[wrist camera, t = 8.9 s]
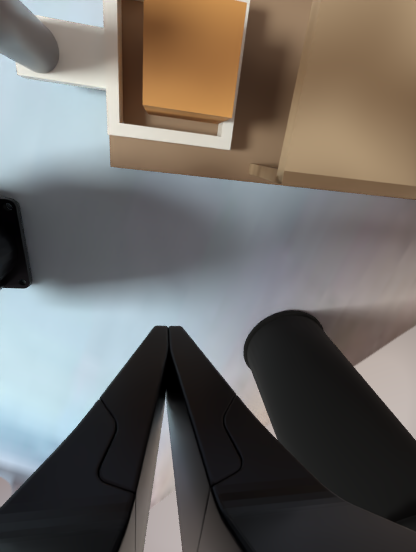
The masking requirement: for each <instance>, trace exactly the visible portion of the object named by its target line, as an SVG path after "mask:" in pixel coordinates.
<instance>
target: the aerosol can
mask: <svg viewBox="0 0 416 552" xmlns="http://www.w3.org/2000/svg"><path fill="white" fill-rule="evenodd" d="M244 359H245V362H246V364H247V366H248V367H249V368H250V369H251V371H252V373H253V376H254V379H255V381H256V384H257V387H258V389H259V392H260V394H261V397H262V400H263V402H264V405H265V408H266V410H267V413H268V416H269V418H270V421H271V424H272V426H273V429H274V432H275V434H276V437H277V439H278V441H279V442H280V443H281V444H282V445H283V446H284V447H285V448H286V449H287V450H288V451H289V452H290V453H291V454H292V455H293V456H294V457H295V458H296V459H297V460H298V461H299V462H300V463H301V464H302V465H303V466H304V467H305V468H306V469H307V470H308V471H309V472H310V473H311V474H312V475H313V476H314V477H315V478H316V479H317V480H318V481H319V482H320V483H321V484H323V485H324V486H325V487H326V488H328V489H329V490H330V491H331V492H333V493H334V494H336V495H337V496H338V497H340V498H342V499H343V500H345V501H347V502H349V503H351V504H353V505H355V506H357V507H360V508H362V509H364V510H367V511H369V512H371V513H374V514H376V515H378V516H380V517H383V518H385V519H387V520H390V521H392V522H394V523H397V524H399V525H401V526H404V527H406V528H408V529H410V530H413V531H415V532H416V440H415V439H414V438H413V437H412V435H411V434H410V433H409V432H408V431H407V429H406V428H405V427H404V426H403V425H402V424H401V422H400V421H399V420H398V419H397V418H396V416H395V415H394V414H393V413H392V412H391V411H390V409H389V408H388V407H387V406H386V405H385V403H384V402H383V401H382V400H381V399H380V398H379V397H378V395H377V394H376V393H375V392H374V390H373V389H372V388H371V387H370V386H369V385H368V383H367V382H366V381H365V380H364V379H363V377H362V376H361V375H360V374H359V373H358V372H357V370H356V369H355V368H354V367H353V366H352V364H351V363H350V362H349V361H348V360H347V358H346V357H345V356H344V355H343V354H342V353H341V351H340V350H339V349H338V348H337V347H336V345H335V344H334V343H333V342H332V341H331V340H330V338H329V337H328V336H327V335H326V334H325V332H324V331H323V327H322V325H321V324H320V322H319V321H318V320H317V319H316V318H315V317H313V316H311V315H309V314H307V313H304V312H301V311H285V312H280V313H277V314H274V315H272V316H270V317H267V318H266V319H264V320H263V321H261V322H260V323H259V324H258V325H257V326H255V327H254V328H253V330H252V331H251V332H250V334H249V335H248V337H247V339H246V341H245V345H244Z"/></svg>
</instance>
